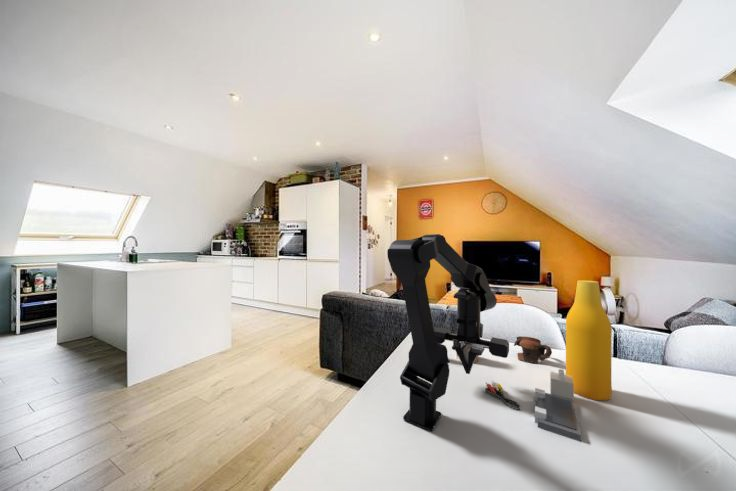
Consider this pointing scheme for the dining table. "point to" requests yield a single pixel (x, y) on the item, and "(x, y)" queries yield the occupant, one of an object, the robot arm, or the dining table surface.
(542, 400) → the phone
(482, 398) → the dining table surface
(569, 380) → the brick
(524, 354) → the pottery mug
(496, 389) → the composite cable
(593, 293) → the beer bottle
